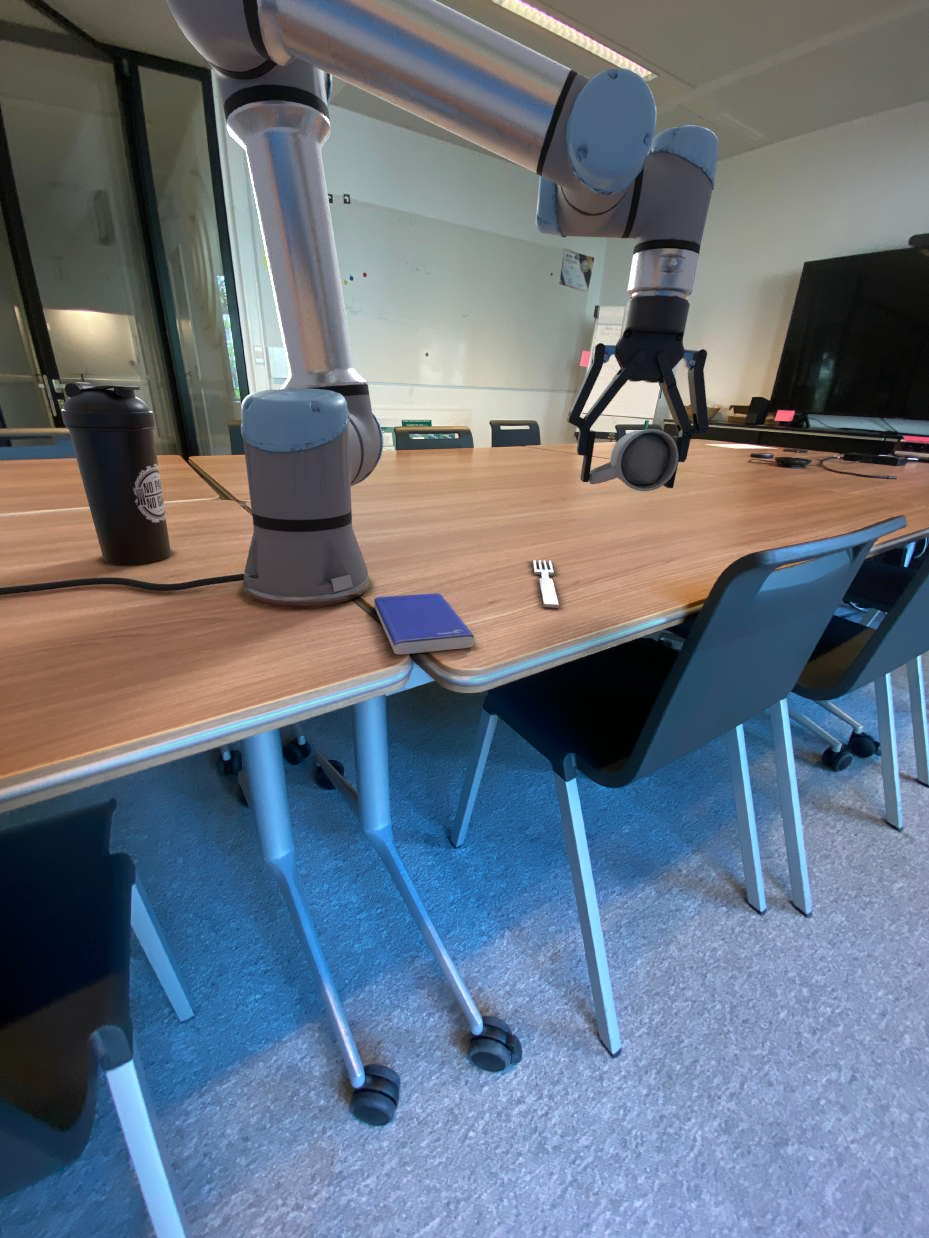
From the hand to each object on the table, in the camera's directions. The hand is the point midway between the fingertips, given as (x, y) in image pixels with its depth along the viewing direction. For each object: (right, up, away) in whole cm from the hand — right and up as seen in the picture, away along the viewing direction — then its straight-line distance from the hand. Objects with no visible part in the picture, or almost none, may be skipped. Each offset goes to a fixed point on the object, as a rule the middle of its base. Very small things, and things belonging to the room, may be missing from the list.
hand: (625, 483), depth 73 cm
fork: (-11, -14, +1) cm, 17 cm away
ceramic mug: (0, -1, 0) cm, 1 cm away
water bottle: (-70, -10, +4) cm, 70 cm away
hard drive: (-27, -20, -15) cm, 36 cm away
